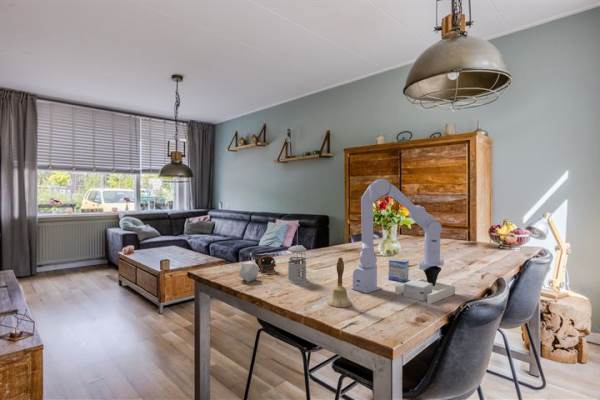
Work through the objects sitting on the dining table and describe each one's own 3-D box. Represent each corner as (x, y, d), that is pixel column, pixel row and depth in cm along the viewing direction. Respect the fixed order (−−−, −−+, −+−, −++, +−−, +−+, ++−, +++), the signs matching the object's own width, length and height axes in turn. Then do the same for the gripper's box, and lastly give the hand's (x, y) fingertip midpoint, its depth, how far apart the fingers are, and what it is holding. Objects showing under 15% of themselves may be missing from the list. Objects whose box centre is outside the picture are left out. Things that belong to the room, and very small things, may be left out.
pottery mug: (280, 270, 163) (279, 257, 158) (269, 282, 156) (269, 270, 151) (259, 261, 168) (259, 249, 163) (248, 273, 160) (247, 261, 156)
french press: (281, 282, 140) (281, 223, 139) (294, 275, 151) (294, 221, 150) (302, 284, 136) (302, 224, 135) (313, 278, 146) (313, 222, 146)
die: (261, 283, 141) (263, 262, 146) (247, 276, 135) (250, 255, 140) (248, 287, 145) (250, 266, 150) (233, 281, 139) (236, 260, 144)
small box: (403, 296, 122) (403, 283, 122) (413, 292, 127) (413, 279, 127) (423, 301, 116) (423, 287, 116) (432, 296, 122) (433, 283, 122)
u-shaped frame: (429, 303, 113) (430, 295, 113) (395, 293, 124) (395, 286, 124) (454, 293, 125) (455, 285, 125) (421, 285, 136) (421, 278, 136)
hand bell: (331, 298, 119) (332, 254, 119) (354, 301, 116) (354, 256, 116) (324, 305, 112) (324, 259, 111) (348, 309, 109) (348, 261, 108)
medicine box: (388, 279, 144) (388, 260, 144) (390, 277, 148) (390, 258, 148) (406, 282, 140) (407, 262, 140) (408, 279, 144) (408, 260, 144)
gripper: (431, 254, 119) (431, 291, 120) (451, 250, 128) (450, 284, 129) (414, 251, 125) (414, 287, 125) (434, 247, 134) (433, 280, 134)
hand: (431, 285), depth 127 cm, fingers closed
